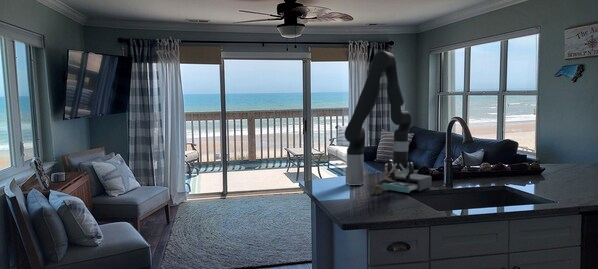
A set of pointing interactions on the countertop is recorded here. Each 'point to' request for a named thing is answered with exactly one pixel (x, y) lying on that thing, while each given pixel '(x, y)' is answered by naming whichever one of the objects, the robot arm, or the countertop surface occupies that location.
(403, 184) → the disc
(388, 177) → the teacup with lid
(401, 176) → the player housing
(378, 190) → the pedestal
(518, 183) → the countertop surface
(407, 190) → the tray
